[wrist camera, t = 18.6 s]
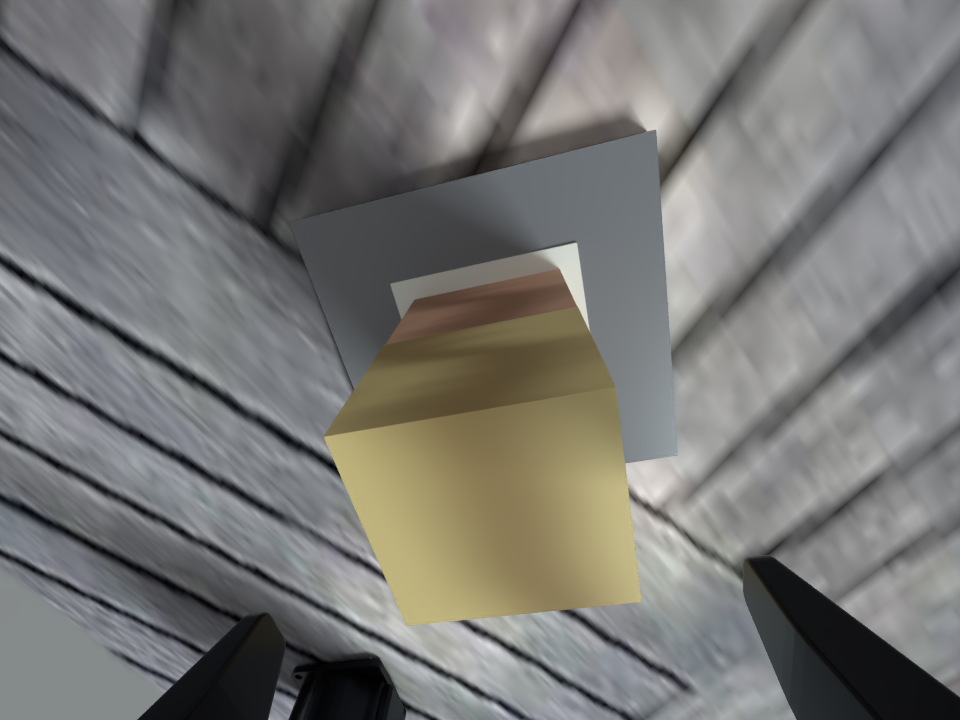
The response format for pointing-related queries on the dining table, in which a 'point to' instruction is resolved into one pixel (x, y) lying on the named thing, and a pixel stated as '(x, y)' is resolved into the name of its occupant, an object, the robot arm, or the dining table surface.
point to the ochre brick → (491, 471)
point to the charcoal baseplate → (517, 263)
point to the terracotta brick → (484, 305)
